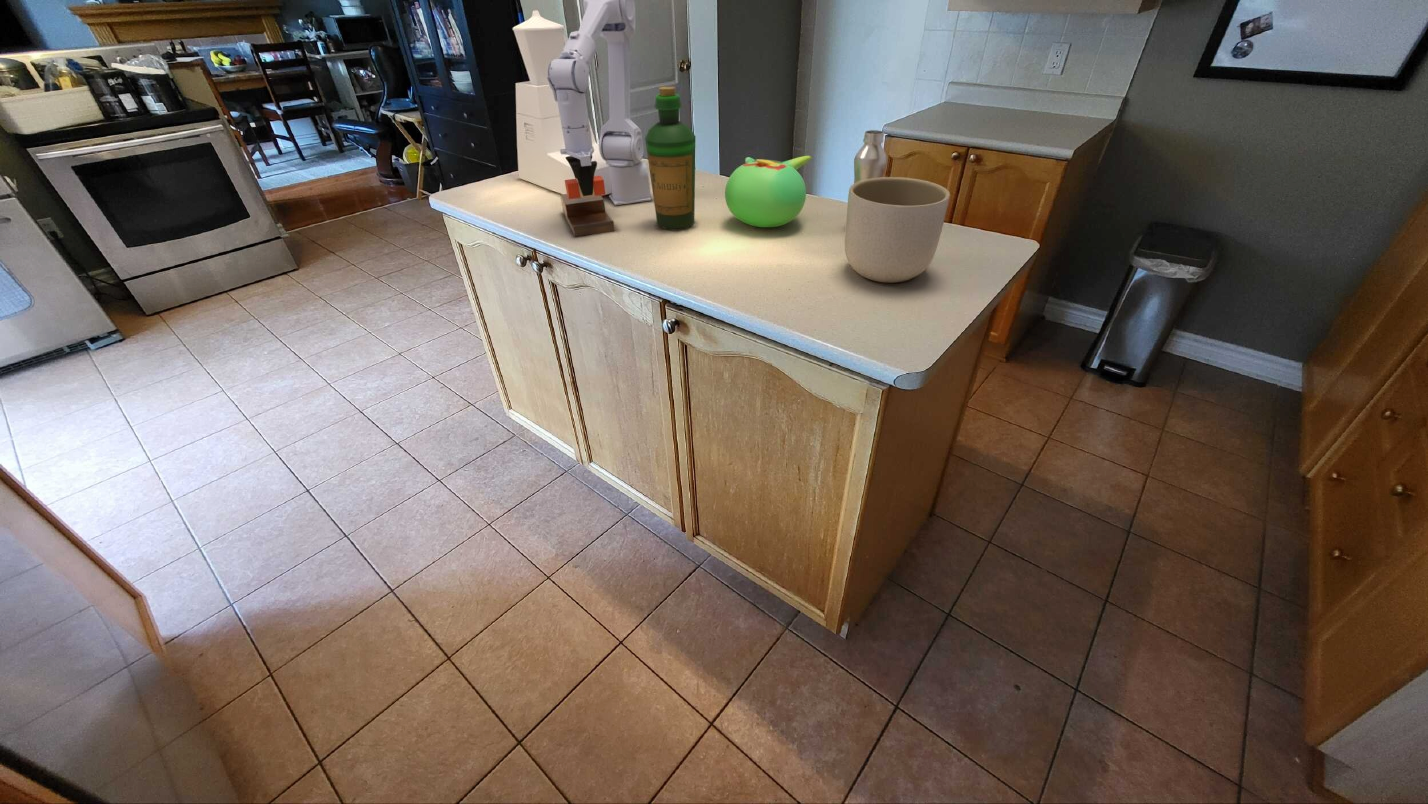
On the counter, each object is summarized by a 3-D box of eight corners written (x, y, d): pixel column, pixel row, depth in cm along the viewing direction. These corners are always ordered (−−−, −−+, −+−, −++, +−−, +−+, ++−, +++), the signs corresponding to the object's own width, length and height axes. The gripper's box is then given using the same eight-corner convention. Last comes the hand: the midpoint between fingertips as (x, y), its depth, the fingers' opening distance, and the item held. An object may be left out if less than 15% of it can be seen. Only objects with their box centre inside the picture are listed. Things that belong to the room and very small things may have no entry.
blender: (640, 187, 155) (622, 10, 131) (583, 204, 145) (552, 15, 121) (573, 166, 174) (547, 7, 150) (519, 179, 164) (481, 12, 140)
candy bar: (602, 190, 129) (600, 175, 127) (605, 194, 126) (603, 179, 124) (567, 194, 127) (564, 179, 125) (569, 199, 124) (566, 184, 122)
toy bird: (714, 231, 128) (712, 162, 119) (743, 208, 140) (743, 144, 131) (790, 242, 121) (794, 170, 112) (813, 217, 133) (819, 150, 125)
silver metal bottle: (877, 235, 123) (892, 136, 111) (845, 234, 124) (857, 135, 112) (876, 225, 128) (891, 129, 116) (846, 223, 129) (857, 128, 117)
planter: (874, 247, 118) (886, 171, 109) (949, 272, 108) (969, 190, 98) (821, 271, 109) (829, 191, 100) (897, 301, 99) (914, 213, 90)
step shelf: (599, 208, 142) (597, 190, 139) (614, 230, 129) (612, 211, 126) (563, 213, 140) (560, 194, 137) (575, 236, 127) (571, 216, 124)
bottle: (643, 228, 130) (630, 90, 113) (668, 214, 137) (658, 82, 120) (684, 236, 126) (676, 93, 109) (707, 220, 133) (702, 85, 116)
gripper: (551, 121, 122) (563, 185, 131) (561, 134, 111) (573, 204, 120) (584, 118, 124) (593, 182, 132) (596, 131, 113) (606, 200, 122)
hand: (586, 192), depth 126 cm, fingers closed on candy bar, 3 cm apart
